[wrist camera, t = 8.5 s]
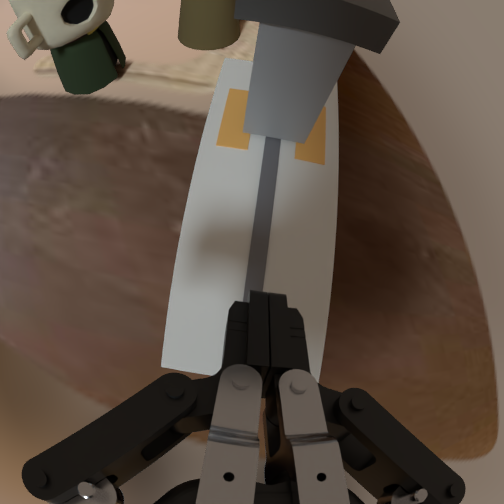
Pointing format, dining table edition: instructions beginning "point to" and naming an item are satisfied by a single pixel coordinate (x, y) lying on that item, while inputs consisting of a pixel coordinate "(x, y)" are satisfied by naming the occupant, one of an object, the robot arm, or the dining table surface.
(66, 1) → the character mug
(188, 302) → the fader console
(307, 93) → the fader knob
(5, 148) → the dining table surface
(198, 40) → the cork
